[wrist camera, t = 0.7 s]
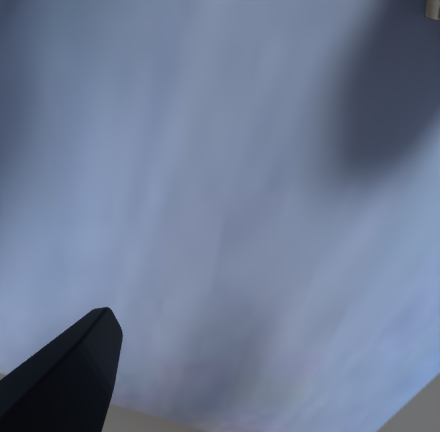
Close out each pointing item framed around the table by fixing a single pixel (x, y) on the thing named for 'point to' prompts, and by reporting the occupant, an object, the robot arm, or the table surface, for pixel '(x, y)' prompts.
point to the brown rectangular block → (433, 9)
